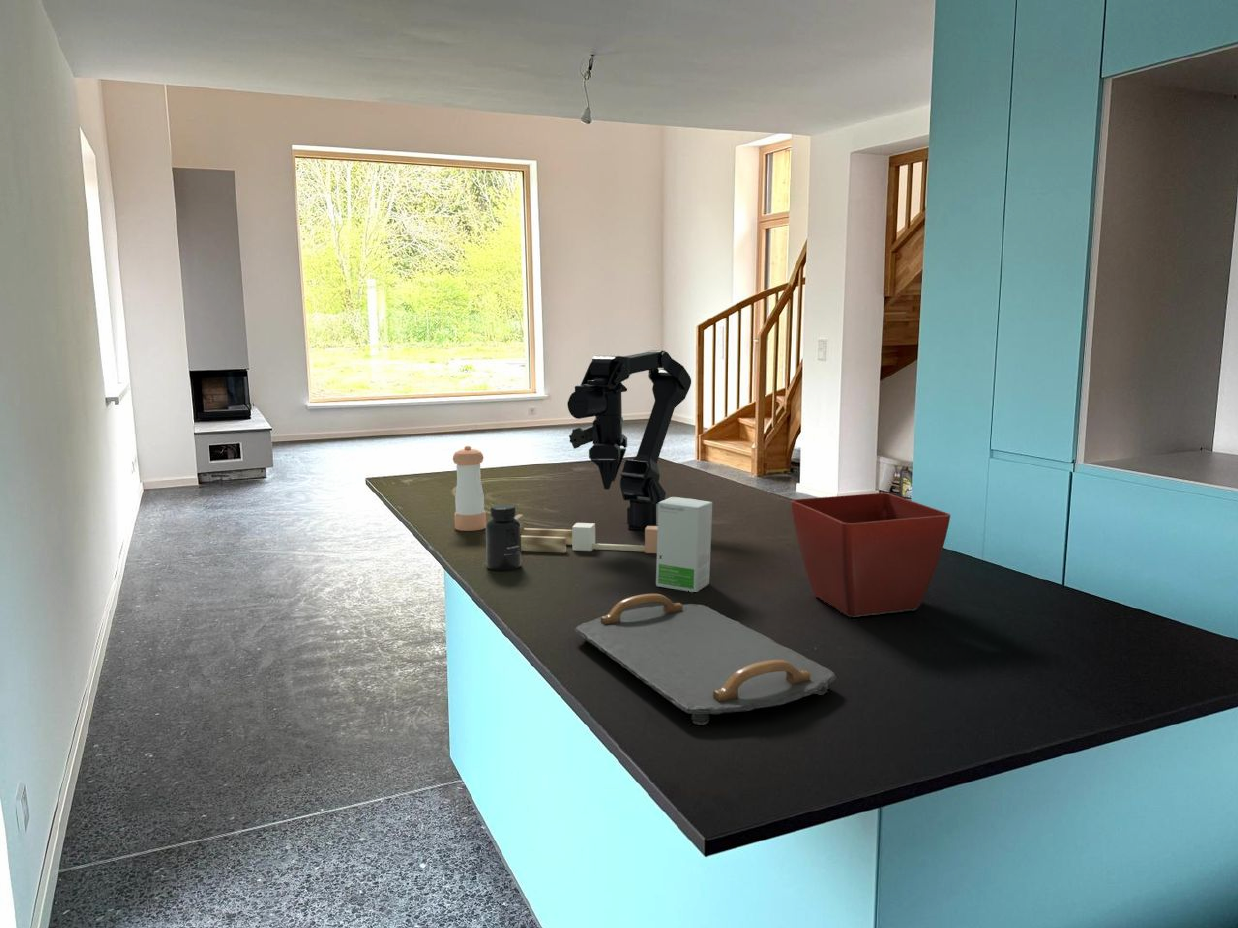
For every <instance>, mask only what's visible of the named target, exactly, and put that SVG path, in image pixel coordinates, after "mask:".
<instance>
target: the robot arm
mask: <svg viewBox="0 0 1238 928" xmlns="http://www.w3.org/2000/svg"><path fill="white" fill-rule="evenodd" d="M646 371H647V372H648V377H647V378H648V379H649V381H651V383H652V388H651V390H652V391H651V392H652V394H653V397H654V403H653V406H652V409H651V412H650V415H649V418H648V421H647V424H646V426H645V429H644V433H643V436H642V438H641V442H640V445H639V446H638V447H639V448H638V451H637V452H636V453H637V454H636V456H635V457H634V458H633V459H626V460H625V461H624V464H623V468H622V471H621V473H620V474H619V476H620V479H619V488H620V491H621V496H622V499H623V501H625V502H626V501H629V505H628V507H627V509H626V516H627V517H626V519H627V520H626V525H627V530H639V531H641V530H642V531H645V529H646V527H647V526H658V503H659V502H661V501H663V500H666V495H667V494H666V493H667V492H666V491H665V489H664V488H663V487H662V485H661V483H659V481H660V471H659V466H658V462H659V461H658V460H659V457H660V454H661V452H662V448H663V445H664V443H665V440H666V436H667V433H668V430H669V427H670V424H671V420H672V417H673V416H674V412H675V409H676V407H678V406H679V405H680V404H681V403H682V402H684V400H686V397H687V395H688V393H689V390H690V388H691V385H692V378H691V376H690V374H689V373H688V371H687V370H686V368H685V367H684V366H683V365H682V364H681V363H679V362H678V361H677V360H675V359H673V358H672V357H671V354H670V353H669V352H668V351H665V350H660V349H659V350H654V349H653V350H651V349H650V350H648V351H646V352H641V353H635V354H630V355H623V356H621V355H594V356H593V357H592V358H591V361H590V363H589V364H588V367H587V370H586V372H585V373H584V377H583V379H582V381H581V383H580V385H574V391H573V392H572V393H571V395H570V396H569V397H568V400H567V404H566V405H567V410H568V412H569V414H570V415H571V416H572V417H573V418H574V419H578V420H579V419H587V418H593V417H594V419H593V420H592V425H590V426H587V427H584V428H581V427H580V426H579V427H577V428H574V429H572V431H571V433H570V434H569V435H568V437H569V443H571V444H572V447H573V449H578V448H580V447H581V446H584V445H587V444H589V443H592V446H591V447H590V448H589V449H588V459H590V461H591V463H594V464H595V465H596V466H597V467H598V470H599V474H600V478H601V481H602V486H603V489H604V490H610V488H611V487H612V483H613V482H615V481H616V478H617V476H618V473H619V470H620V467H621V464H622V462H623V459H624V456H625V454H626V451H627V447H628V437H627V436H626V435H624V433H623V422H624V418H623V417H622V415H623V414H622V411H623V410H622V393H625V392H628V388H627V387H626V386H625V385H624V384H623V383H622V382H624V381H627V380H628V379H629V378H630V376H631V375H633V374H637V373H643V372H646Z"/></svg>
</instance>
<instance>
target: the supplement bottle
mask: <svg viewBox="0 0 1238 928" xmlns="http://www.w3.org/2000/svg"><path fill="white" fill-rule="evenodd" d="M489 514H490V515H489V517H490V518H491V519H489V520H488V521H486V528H485V546H486V547H485V556H486V557H485V559H486V561H485V563H486V566H487V568H488V569H489V570H492V571H500V572H502V571H504V572H505V571H512V570H513V571H514V570H516V569H519V568H520V567H521V565H522V551H521V524H520V522H519V521H518V520H517V519H515V516H517V513H516V505H512V504H496V505H492V506H490V513H489Z"/></svg>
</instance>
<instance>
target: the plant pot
mask: <svg viewBox="0 0 1238 928" xmlns="http://www.w3.org/2000/svg"><path fill="white" fill-rule="evenodd" d="M790 503H791V511H792V512H791V513H792V518H793V524H794V529H795V535H796V539H797V544H798V547H799V552H800V555H801V558H802V563H803V566H804V569H805V572H806V575H807V577H808V578H807V579H808V582H809V584H810V587H811V590H812V592H813V595H814V597H815V596H816V597H815V598H817V597H818V598H820V599H821V600H823V601H825V602H826V603H828V604H829V605H828V604H827V605H828V606H830V605H831V606H833V607H835V608H836V609H838V610H840V611H841V612H843V613H845V614H847V615H850V616H851V615H852V616H857V615H865V614H872V613H881V612H890V611H899V610H906V609H914V608H918V607H919V608H920V606H921V604H922V601H923V600H924V598H925V596H926V594H927V591H928V588H929V586H930V584H931V582H932V579H933V577H934V575H935V573H936V572H935V571H936V569H937V567H938V564H939V561H940V558H941V555H942V552H943V548H944V544H945V540H946V536H947V533H948V530H949V524H950V519H951V514H950V513H948V512H946V511H943V510H940V509H936V508H934V507H930V506H928V505H925V504H921V503H919V502H917V501H913V500H911V499H907V498H904V497H901V496H899V495H895V494H892V493H889V492H875V493H862V494H849V495H848V494H847V495H835V496H834V495H833V496H822V497H821V496H819V497H809V498H798V499H797V498H796V499H791V501H790ZM818 598H817V599H818ZM820 599H819V600H820ZM821 600H820V601H821ZM823 601H822V602H823ZM825 602H824V603H825ZM826 603H825V604H826ZM831 606H830V607H831ZM833 607H832V608H833ZM919 608H918V609H919ZM836 609H835V610H836ZM841 612H840V613H841Z"/></svg>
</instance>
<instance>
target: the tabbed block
mask: <svg viewBox="0 0 1238 928" xmlns="http://www.w3.org/2000/svg"><path fill="white" fill-rule="evenodd" d="M571 530H572V545H571V546H572V551H575V552H576V551H581V552H592V551H593V550H597V551H598V550H600V551H602V550H603V551H624V552H625V551H630V552H632V551H633V552H644V553H645V554H657V533H658V526H647V527H646V529H645V530H644V545H643V544H642V545H641V544H639V545H638V544H619V543H618V544H617V543H616V544H615V543H613V544H612V543H596V523H593V522H592V523H591V522H576V523H574V524H573V526H572V527H571Z"/></svg>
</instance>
